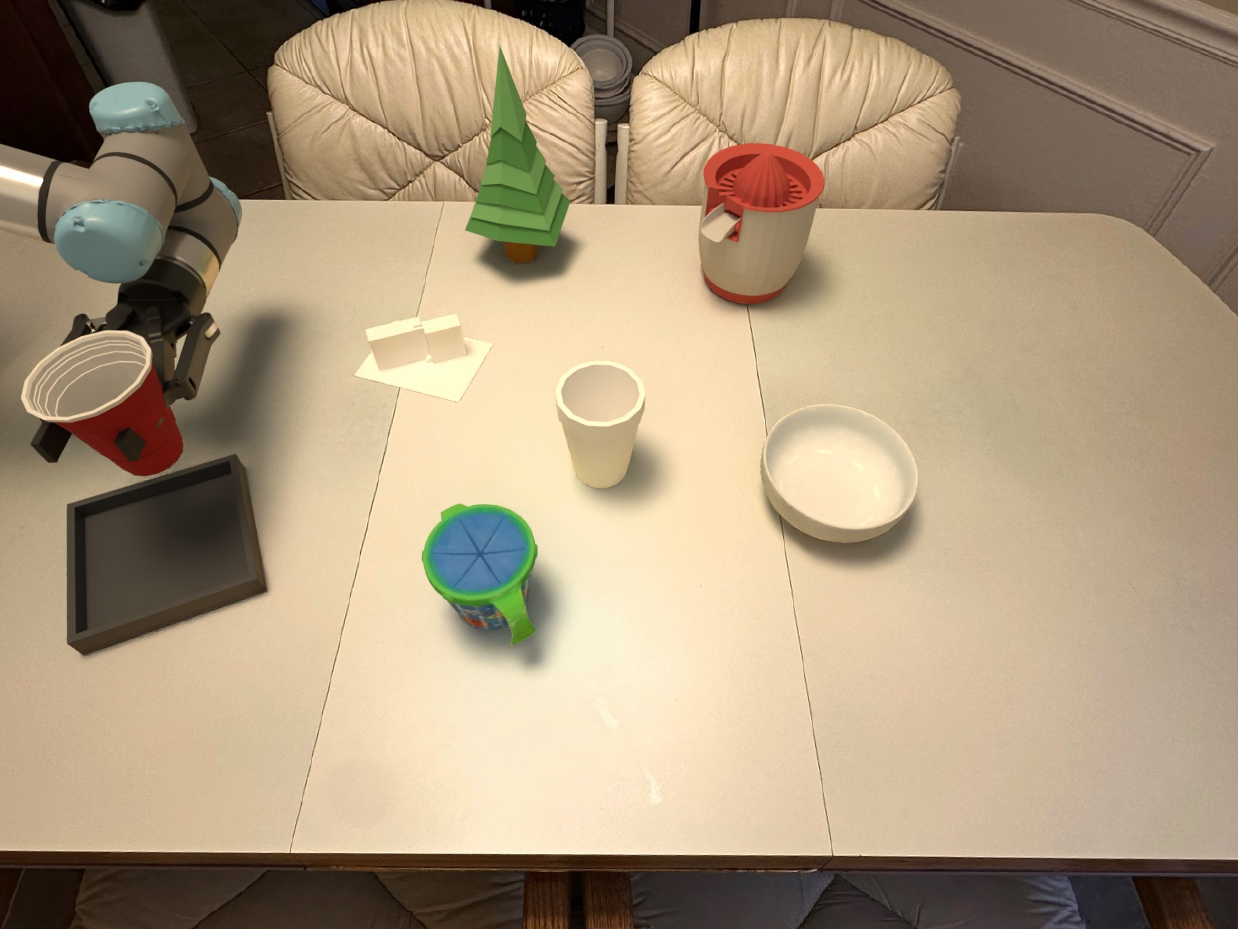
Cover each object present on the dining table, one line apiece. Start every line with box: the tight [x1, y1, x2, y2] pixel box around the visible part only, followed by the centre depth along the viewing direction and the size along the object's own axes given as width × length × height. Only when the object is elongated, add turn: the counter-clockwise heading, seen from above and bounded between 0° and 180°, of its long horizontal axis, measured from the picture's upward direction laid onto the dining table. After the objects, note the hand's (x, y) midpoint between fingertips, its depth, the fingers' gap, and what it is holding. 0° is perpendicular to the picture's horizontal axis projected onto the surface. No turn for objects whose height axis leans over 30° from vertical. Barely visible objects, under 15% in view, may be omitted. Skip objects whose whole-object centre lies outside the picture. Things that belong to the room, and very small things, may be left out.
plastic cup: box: [20, 331, 184, 477], centre depth 69 cm, size 11×11×12 cm
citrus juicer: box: [697, 142, 825, 305], centre depth 101 cm, size 16×17×20 cm
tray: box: [66, 453, 268, 656], centre depth 79 cm, size 18×18×3 cm
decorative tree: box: [464, 45, 571, 265], centre depth 100 cm, size 14×16×30 cm
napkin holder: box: [354, 313, 494, 403], centre depth 96 cm, size 15×11×6 cm
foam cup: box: [554, 360, 646, 489], centre depth 83 cm, size 10×9×13 cm
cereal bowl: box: [759, 403, 920, 544], centre depth 83 cm, size 17×17×7 cm
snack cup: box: [421, 502, 539, 646], centre depth 73 cm, size 16×10×10 cm
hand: (85, 452), depth 66 cm, fingers closed on plastic cup, 6 cm apart
